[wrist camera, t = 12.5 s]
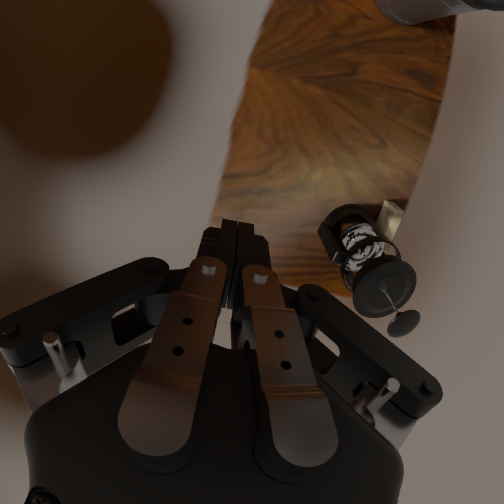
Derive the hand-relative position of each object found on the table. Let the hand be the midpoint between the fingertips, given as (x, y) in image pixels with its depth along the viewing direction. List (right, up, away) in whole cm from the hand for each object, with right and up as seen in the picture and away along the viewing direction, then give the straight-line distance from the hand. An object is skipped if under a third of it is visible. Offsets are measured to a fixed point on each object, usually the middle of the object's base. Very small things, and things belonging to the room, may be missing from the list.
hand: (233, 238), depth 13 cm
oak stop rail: (+23, +2, +33) cm, 40 cm away
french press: (+17, +3, +32) cm, 37 cm away
